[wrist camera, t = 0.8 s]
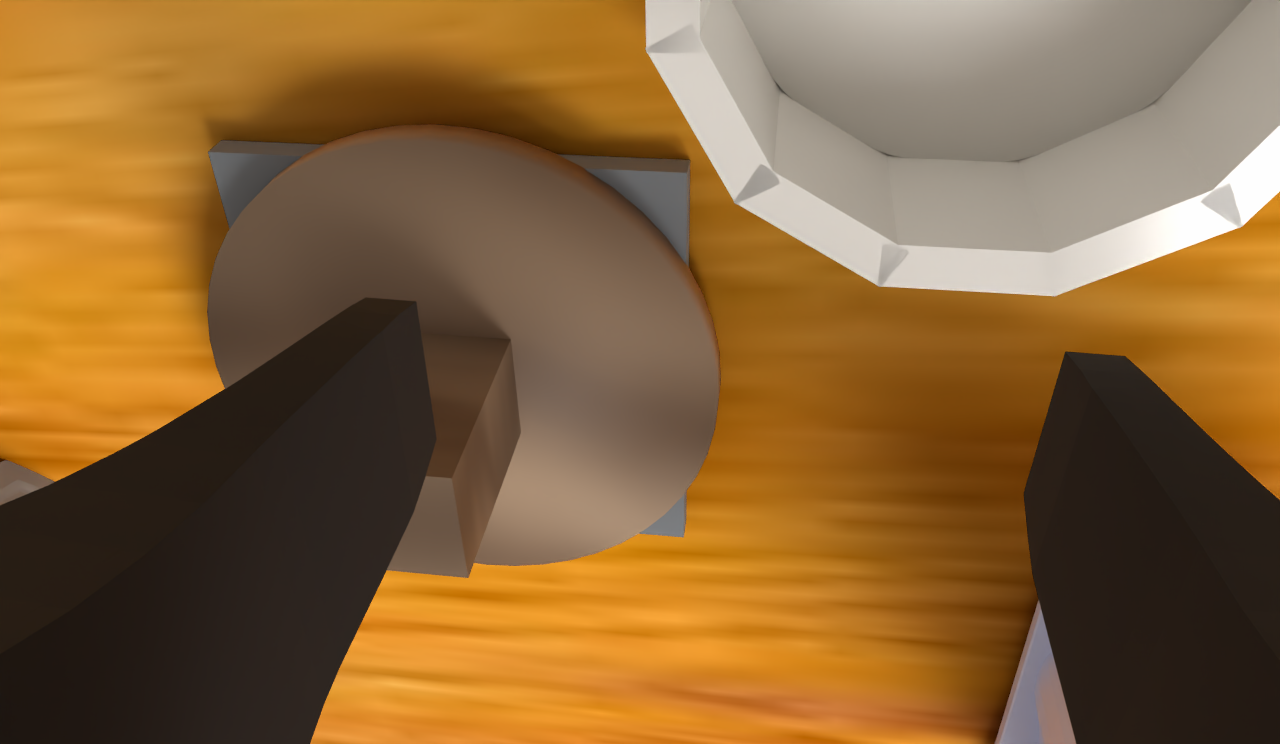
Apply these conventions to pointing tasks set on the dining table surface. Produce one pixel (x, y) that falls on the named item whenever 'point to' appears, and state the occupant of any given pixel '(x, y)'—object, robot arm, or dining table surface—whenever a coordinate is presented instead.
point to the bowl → (983, 128)
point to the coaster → (639, 180)
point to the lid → (492, 332)
